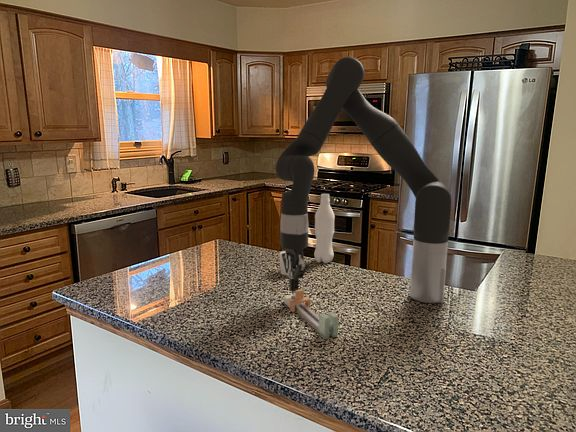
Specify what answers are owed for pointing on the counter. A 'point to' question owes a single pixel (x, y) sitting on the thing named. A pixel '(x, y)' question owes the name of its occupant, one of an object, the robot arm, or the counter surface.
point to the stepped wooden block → (299, 299)
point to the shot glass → (282, 264)
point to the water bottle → (324, 230)
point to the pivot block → (287, 300)
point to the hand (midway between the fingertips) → (293, 290)
